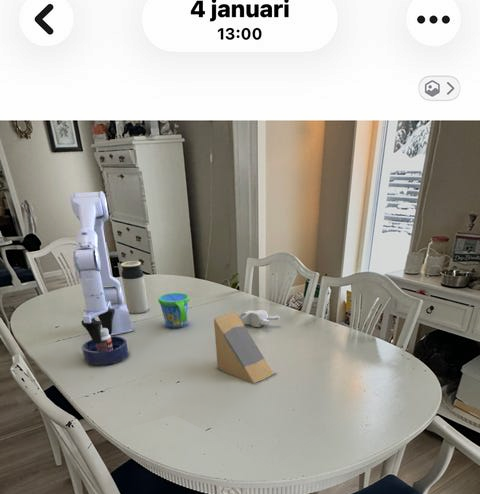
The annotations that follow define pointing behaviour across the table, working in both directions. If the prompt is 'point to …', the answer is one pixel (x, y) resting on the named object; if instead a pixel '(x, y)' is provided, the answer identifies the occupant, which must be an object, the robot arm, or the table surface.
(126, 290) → the travel mug
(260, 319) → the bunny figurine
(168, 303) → the snack cup
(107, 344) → the pill bottle
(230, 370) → the sandwich container
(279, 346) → the table surface
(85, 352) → the bowl
